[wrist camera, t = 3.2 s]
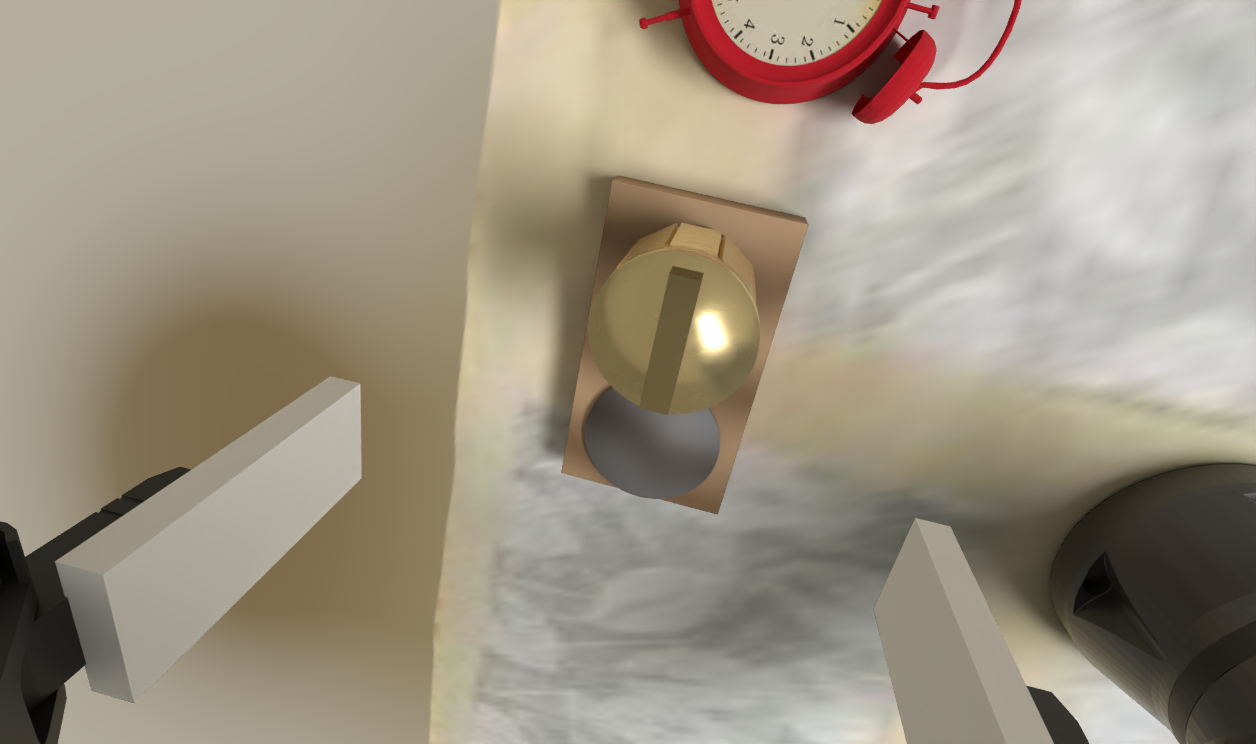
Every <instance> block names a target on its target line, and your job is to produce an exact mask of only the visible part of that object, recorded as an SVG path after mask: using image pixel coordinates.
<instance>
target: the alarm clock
mask: <svg viewBox="0 0 1256 744" xmlns="http://www.w3.org/2000/svg"><path fill="white" fill-rule="evenodd" d="M679 3H680V9H679V10H676V11H672V12H669V13H666V14H665V15H661V16H658V17H655V18H651V19H648V20H647V19H646V18H645V17H644V18H641V19H640V20H639V22H640V27H641V28H642V29H646V28H647V26H648V25H650V24H653V23H657V22H661V21H665V20H668V21H669V20H673V19H676V18H680V17H682V20H683V24H684V27H685V30H686V33H687V36H688V38H689V41H690V43H691V45H692V47H693V49H694V51H695V52H696V54H697V56H698V57H699V59H700V60H701V62H702V63H703V64H704V66H705V67H706V68H707V69H708V70H709V72H710V73H711V74H712V75H713V76H714V77H715V78H716V79H717V80H719V81H720V82H721V83H722V84H724V85H725V86H726V87H728V88H729V89H731V90H733V91H734V92H736V93H738V94H740V95H742V96H744V97H747V98H750V99H753V100H756V101H760V102H765V103H773V104H793V103H800V102H806V101H810V100H814V99H817V98H820V97H823V96H825V95H828V94H830V93H832V92H834V91H836V90H838V89H840V88H841V87H843V86H845V85H846V84H848V83H849V82H851V81H852V80H854V79H855V78H856V77H858V76H859V75H860V74H861V73H863V72H864V71H865V70H866V69H867V68H868V67H869V66H870V65H871V64H872V63H873V62H874V61H875V60H876V59H877V57H878V56H879V55H880V54H881V53H882V52H883V51H884V49H885V48H886V46H887V45H888V44H889V42H890V41H891V40H892V38H893V37H894V35H895V34H896V33H897V34H898V35H899V36H901V37H902V38H903V39H904V40H905V41H906V43H905V44H904V45H903V46H902V47H901V48H900V49H899V50H898V51H897V52H896V54H895V55H894V56H893V58H895V59H896V60H898V61H899V63H900V65H901V67H900V68H899V69H898V71H897V72H896V73H895V74H894V75H893V77H892V78H891V79H890V80H889V81H888V83H887V84H886V85H885V86H884V87H883V88H882V90H881V91H880V92H879V93H878V94H877V95H876V96H875V97H874V98H873V99H870V98H867V97H865V96H864V95H862V96H861V97H860V99H859V101H858V102H857V104H856V105H855V107H854V109H853V111H852V115H853V116H854V117H856V118H857V119H858V120H859V121H861V122H863V123H867V124H874V123H877V122H880V121H883V120H884V119H886V118H887V117H889V116H891V115H892V114H893V113H894V112H895V111H896V110H897V109H899V108H900V107H901V106H902V105H903V104H904V103H905V102H906V101H907V100H908V98H910V99H911V100H913V101H914V102H915V103H917V104H919V103H920V102H921V101H922V98H921V97H920V96H919V95H918V94H916V92H917V91H918V90H920V89H921V88H931V89H950V88H957V87H960V86H964V85H967V84H968V83H970V82H972V81H973V80H975V79H977V78H978V77H980V76H981V75H982V74H983V73H984V72H985V71H986V70H987V69H988V68H989V67H990V66H991V64H992V63H993V61H994V60H995V59H996V57H997V56H998V54H999V53H1000V51H1001V50H1002V48H1003V46H1004V44H1005V42H1006V40H1007V38H1008V37H1009V35H1010V33H1011V31H1012V28H1013V26H1014V23H1015V20H1016V17H1017V15H1018V12H1019V9H1020V5H1021V0H1015V2H1014V7H1013V10H1012V13H1011V15H1010V18H1009V21H1008V24H1007V26H1006V29H1005V31H1004V33H1003V35H1002V37H1001V39H1000V41H999V43H998V44H997V46H996V48H995V49H994V51H993V53H992V54H991V56H990V57H989V59H988V60H987V61H986V62H985V63H984V65H983V66H982V67H981V68H980V69H979V70H978V71H977V72H975V73H974V74H972V75H971V76H969V77H968V78H966V79H963V80H960V81H956V82H950V83H932V82H923V83H921V82H922V81H923V79H924V78H925V77H926V75H927V74H928V72H929V71H930V69H931V67H932V65H933V62H934V60H935V55H936V46H935V42H934V40H933V39H932V38H931V36H930V35H929V34H928V33H927V32H926V31H925V30H920V31H919V32H917V33H916V34H915V35H913V36H912V37H911V38H910V39H909V40H908V39H906V38H905V37H904V36H903V35H902V34H901V33H899V32H898V31H897V30H898V28H899V26H900V24H901V22H902V20H903V18H904V16H905V14H906V11H907V9H908V8H909V9H913V10H916V11H920V12H924V13H927V14H929V15H928V18H930V19H935V18H936V15H937V13H938V10H939V8H940V7H939V6H936V5H932V8H927V7H924V6H920V5H916V4H913V3H910V0H679Z"/></svg>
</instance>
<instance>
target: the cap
mask: <svg viewBox="0 0 1256 744" xmlns="http://www.w3.org/2000/svg"><path fill="white" fill-rule="evenodd" d="M721 235H722V232H721V231H717V230H713V229H708V228H704V227H700V226H695V225H691V224H687V223H681V225H680V227H678V225H677V223H675V224H673V225H671V226H668V227H666V228H664V229H662V230H659V231H657V232H655V233H652V234H650V235H648V236H645V237H643V238H641V239H639V241H638V242H636V243H635V244H634V246H633V247H632V248H631V249H630V251H629V252H628V253H627V255H626V256H625V257H624V258H623V260H622V261H621V262H620V264H619V265H618V266H617V267H616V269H615V271H614V272H613V273H612V274H611V275H610V277H609V278H608V279H607V281H606V282H605V283H604V284H603V286H602V287H601V289H600V290H599V292H598V294H597V296H596V297H595V300H594V302H593V305H592V308H591V312H590V316H589V324H588V338H589V344H590V349H591V352H592V355H593V358H594V361H595V363H596V365H597V367H598V369H599V371H600V372H601V374H602V375H603V377H604V378H605V379H606V381H607V382H608V383H609V384H610V385H611V386H612V387H613V388H614V389H615V390H616V391H617V392H618V393H619V394H621V395H622V396H623V397H624V398H626V399H628V400H629V401H631V402H633V403H634V404H636V405H639V408H640V409H644V410H648V411H652V412H656V413H660V414H664V415H668V414H687V413H693V412H698V411H702V410H705V409H708V408H710V407H713V406H715V405H717V404H719V403H720V402H722V401H724V400H726V399H727V398H728V397H729V396H731V395H732V394H733V393H734V392H735V391H736V390H737V389H738V388H739V387H740V386H741V385H742V384H743V383H744V381H745V380H746V379H747V377H748V376H749V374H750V372H751V370H752V368H753V366H754V364H755V361H756V358H757V354H758V350H759V343H760V327H759V315H758V310H757V306H756V290H755V270H753V265H752V264H751V263H750V261H749V260H748V259H747V258H746V257H745V256H744V254H743V253H742V252H741V251H740V250H739V248H738V247H737V246H736V245H735V244H734V243H733V241H732V240H731V239H730V238H729V237H728V236H727V234H726V235H725V236H724V237H723V238H721Z"/></svg>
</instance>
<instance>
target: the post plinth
mask: <svg viewBox="0 0 1256 744" xmlns="http://www.w3.org/2000/svg"><path fill="white" fill-rule="evenodd" d="M675 223H677V225H678V227H680V225H681V223H687V224H691V225H695V226H700V227H704V228H708V229H713V230H717V231H721V232H722V235H721V238H723V237H724V236H725V235H726V234H727V236H728V237H729V238H730V239H731V240H732V241H733V243H734V244H735V245H736V246H737V247H738V248H739V250H740V251H741V252H742V253H743V254H744V256H745V257H746V258H747V259H748V260H749V261H750V263H751V264H752V265H753V270H755V290H756V306H757V310H758V315H759V327H760V343H759V350H758V354H757V358H756V361H755V364H754V366H753V368H752V370H751V372H750V374H749V376H748V377H747V379H746V380H745V381H744V383H743V384H742V385H741V386H740V387H739V388H738V389H737V390H736V391H735V392H734V393H733V394H732V395H731V396H729V397H728V398H727V399H726V400H724V401H722V402H720V403H719V404H717V405H715V406H713V407H710V408H708V409H705V410H702V411H698V412H693V413H687V414H668V415H664V414H660V413H656V412H652V411H648V410H644V409H640V408H639V405H636V404H634V403H633V402H631V401H629V400H628V399H626V398H624V397H623V396H622V395H621V394H619V393H618V392H617V391H616V390H615V389H614V388H613V387H612V386H611V385H610V384H609V383H608V382H607V381H606V379H605V378H604V377H603V375H602V374H601V372H600V371H599V369H598V367H597V365H596V363H595V361H594V358H593V355H592V352H591V349H590V344H589V338H588V324H589V316H590V312H591V308H592V305H593V302H594V300H595V297H596V296H597V294H598V292H599V290H600V289H601V287H602V286H603V284H604V283H605V282H606V281H607V279H608V278H609V277H610V275H611V274H612V273H613V272H614V271H615V269H616V267H617V266H618V265H619V264H620V262H621V261H622V260H623V258H624V257H625V256H626V255H627V253H628V252H629V251H630V249H631V248H632V247H633V246H634V244H635V243H636V242H638V241H639V239H641V238H643V237H645V236H648V235H650V234H652V233H655V232H657V231H659V230H662V229H664V228H666V227H668V226H671V225H673V224H675ZM807 228H808V223H807V221H806V218H804V217H799V216H795V215H791V214H786V213H782V212H777V211H773V210H768V209H764V208H759V207H755V206H751V205H746V204H742V203H737V202H733V201H728V200H724V199H720V198H715V197H711V196H706V195H702V194H697V193H693V192H689V191H684V190H680V189H675V188H671V187H666V186H662V185H657V184H653V183H649V182H644V181H640V180H635V179H631V178H626V177H622V176H619V177H617V178H615V179H614V180H612V185H611V190H610V196H609V202H608V208H607V213H606V219H605V225H604V231H603V236H602V242H601V248H600V253H599V259H598V265H597V271H596V276H595V282H594V288H593V294H592V299H591V305H590V311H589V316H588V322H587V328H586V334H585V339H584V345H583V351H582V356H581V362H580V368H579V374H578V379H577V385H576V391H575V397H574V402H573V408H572V414H571V419H570V425H569V431H568V437H567V442H566V448H565V454H564V460H563V465H562V471H561V473H564V474H568V475H571V476H575V477H579V478H583V479H586V480H590V481H594V482H598V483H601V484H605V485H609V486H613V487H616V488H619V489H621V490H623V491H625V492H627V493H630V494H633V495H636V496H639V497H644V498H652V499H661V500H665V501H669V502H673V503H677V504H680V505H684V506H688V507H692V508H695V509H699V510H703V511H707V512H710V513H714V514H718V512H719V508H720V505H721V502H722V499H723V496H724V493H725V489H726V486H727V483H728V480H729V477H730V473H731V470H732V467H733V464H734V461H735V457H736V454H737V451H738V448H739V445H740V442H741V438H742V435H743V432H744V429H745V426H746V422H747V419H748V416H749V413H750V410H751V406H752V403H753V400H754V397H755V394H756V391H757V387H758V384H759V381H760V378H761V375H762V371H763V368H764V365H765V362H766V359H767V356H768V352H769V349H770V346H771V343H772V340H773V336H774V333H775V330H776V327H777V324H778V320H779V317H780V314H781V311H782V308H783V305H784V301H785V298H786V295H787V292H788V289H789V285H790V282H791V279H792V276H793V273H794V269H795V266H796V263H797V260H798V257H799V254H800V250H801V247H802V244H803V241H804V238H805V234H806V231H807Z"/></svg>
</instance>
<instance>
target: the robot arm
mask: <svg viewBox="0 0 1256 744" xmlns="http://www.w3.org/2000/svg"><path fill="white" fill-rule="evenodd" d="M360 396H361V393H360V383H356V382H352V381H348V380H344V379H339V378H336V377H331V376H330V377H329V378H327V379H326V380H324V381H323V382H321V383H320V384H318V385H317V386H315V387H314V388H312V389H311V390H309V391H308V392H306V393H305V394H303V395H302V396H300V397H299V398H298V399H296V400H294V401H293V402H292V403H290V404H289V405H287V406H286V407H284V408H283V409H281V410H280V411H278V412H277V413H275V414H274V415H272V416H271V417H269V418H268V419H266V420H265V421H263V422H262V423H260V424H259V425H257V426H256V427H254V428H253V429H251V430H250V431H249V432H247V433H245V434H244V435H242V436H241V437H240V438H238V439H237V440H235V441H234V442H232V443H231V444H229V445H228V446H226V447H225V448H223V449H222V450H220V451H219V452H217V453H216V454H214V455H213V456H211V457H210V458H208V459H207V460H205V461H204V462H202V463H201V464H199V465H198V466H196V467H195V468H194V469H192V470H190V469H186V468H183V467H178V468H175V469H172V470H170V471H167V472H164V473H162V474H159V475H156V476H154V477H151V478H148V479H147V480H145V481H143V482H142V483H140V484H139V485H137V486H136V487H134V488H133V489H131V490H129V491H128V492H126V493H125V494H123V495H122V498H121V499H118V498H117V499H115V500H114V501H112V502H111V503H109V504H108V505H106V506H104V507H103V508H101V511H100V512H99V513H97V512H95V513H93V514H92V515H90V516H89V517H87V518H85V519H84V520H82V521H81V522H79V523H78V524H76V525H75V526H73V527H71V528H70V529H68V530H67V531H65V532H64V533H62V534H61V535H59V536H57V537H56V538H54V539H53V540H51V541H49V542H48V543H46V544H45V545H43V546H42V547H40V548H38V549H37V550H35V551H34V552H32V553H31V554H29V555H28V556H26V557H25V556H24V553H23V549H22V546H21V543H20V540H19V536H18V533H17V530H16V529H15V528H13V527H12V526H11V525H9V524H8V523H5V522H0V744H58V739H59V734H60V729H61V724H62V719H63V714H64V708H65V704H66V699H67V698H66V691H65V690H66V689H65V685H64V683H65V682H66V681H67V680H68V679H70V677H72V676H73V675H74V674H75V673H76V672H78V671H79V670H80V669H81V668H82V667H83V666H85V669H86V673H87V676H88V680H89V683H90V686H91V690H92V691H94V692H98V693H101V694H105V695H108V696H111V697H114V698H118V699H121V700H124V701H128V702H131V703H135V702H136V701H137V700H138V699H139V698H140V697H141V696H142V695H143V694H144V693H145V692H146V691H147V690H148V689H149V688H150V687H151V686H152V685H153V684H154V683H155V682H156V681H157V680H158V679H159V678H160V677H161V676H162V675H163V674H164V673H165V672H166V671H167V670H168V669H169V668H170V667H171V666H172V665H174V663H176V661H177V660H178V659H179V658H181V657H182V656H183V654H185V652H187V650H189V648H191V647H192V646H193V645H194V644H195V643H196V642H197V640H199V639H200V638H201V637H202V636H203V635H204V634H205V633H206V632H207V631H208V630H209V629H210V628H211V627H212V626H213V625H214V624H215V623H216V622H217V621H218V620H219V619H220V618H221V617H222V616H223V615H224V614H225V613H226V612H227V611H228V610H229V609H230V608H231V607H232V606H233V605H234V604H235V603H236V602H237V601H238V600H239V599H240V598H241V597H242V596H243V595H244V594H245V593H246V592H247V591H248V590H249V589H250V588H251V587H252V586H253V585H254V584H255V583H256V582H257V581H258V580H259V579H260V578H261V577H262V576H263V575H264V574H265V573H266V572H267V571H268V570H269V569H270V568H271V567H272V566H273V565H274V564H275V563H276V562H277V561H278V560H279V559H280V558H281V557H282V556H283V555H284V554H285V553H286V552H287V551H288V550H289V549H290V548H291V547H292V546H294V545H295V544H296V543H297V542H298V540H299V539H300V538H302V536H304V534H306V533H307V532H308V531H309V530H310V529H311V528H312V527H313V526H314V525H315V524H316V523H317V522H318V521H319V520H320V519H321V518H322V517H323V516H324V515H325V514H326V513H327V512H328V511H329V510H330V509H331V508H332V507H333V506H334V505H335V504H336V503H337V502H338V501H339V500H340V499H341V498H342V497H343V496H344V495H345V494H346V493H347V492H348V491H349V490H350V489H351V488H352V487H353V486H354V485H355V484H356V483H357V482H358V481H359V480H360V479H361V478H362V477H361V397H360ZM1050 587H1051V596H1052V601H1053V605H1054V608H1055V610H1056V613H1057V615H1058V617H1059V618H1060V620H1061V622H1062V624H1063V625H1064V627H1065V629H1066V630H1067V632H1068V634H1069V635H1070V637H1071V638H1072V640H1073V642H1074V643H1075V645H1076V646H1077V648H1078V649H1079V650H1080V652H1081V653H1082V654H1083V655H1084V656H1085V657H1086V659H1087V660H1088V661H1089V662H1090V663H1091V664H1092V665H1093V666H1094V667H1096V668H1097V669H1098V670H1099V671H1100V672H1101V673H1103V674H1104V675H1105V676H1106V677H1107V678H1109V679H1110V680H1111V681H1112V682H1113V683H1114V684H1116V685H1117V686H1118V687H1119V688H1120V689H1122V690H1123V691H1124V692H1125V693H1126V694H1128V695H1129V696H1130V697H1131V698H1132V699H1133V700H1135V701H1136V702H1137V703H1138V704H1139V705H1141V706H1142V707H1143V708H1144V709H1145V710H1147V711H1148V712H1149V713H1150V714H1151V715H1152V716H1154V717H1155V718H1156V719H1157V720H1158V721H1160V722H1161V723H1162V724H1163V725H1164V726H1166V727H1167V728H1168V729H1169V730H1170V731H1171V732H1172V733H1173V735H1174V736H1175V738H1176V739H1177V741H1178V742H1179V743H1180V744H1256V466H1253V465H1239V464H1219V465H1206V466H1198V467H1191V468H1186V469H1181V470H1177V471H1172V472H1168V473H1165V474H1162V475H1158V476H1155V477H1152V478H1150V479H1147V480H1144V481H1142V482H1139V483H1137V484H1135V485H1132V486H1130V487H1128V488H1126V489H1124V490H1122V491H1121V492H1119V493H1117V494H1115V495H1113V496H1112V497H1110V498H1109V499H1107V500H1105V501H1104V502H1103V503H1101V504H1100V505H1098V506H1097V507H1096V508H1095V509H1093V510H1092V511H1091V512H1090V513H1088V514H1087V515H1086V516H1085V517H1084V518H1083V519H1082V520H1081V521H1080V522H1079V523H1078V524H1077V525H1076V526H1075V527H1074V529H1073V530H1072V531H1071V532H1070V534H1069V535H1068V536H1067V538H1066V539H1065V541H1064V542H1063V544H1062V546H1061V548H1060V549H1059V552H1058V554H1057V556H1056V559H1055V561H1054V564H1053V568H1052V573H1051V584H1050ZM874 613H875V617H876V621H877V625H878V629H879V633H880V637H881V641H882V645H883V649H884V653H885V657H886V661H887V665H888V669H889V673H890V677H891V681H892V685H893V689H894V693H895V697H896V701H897V705H898V709H899V713H900V717H901V721H902V725H903V729H904V734H905V738H906V742H907V744H1089V742H1088V740H1087V738H1086V736H1085V734H1084V733H1083V731H1082V729H1081V727H1080V725H1079V723H1078V722H1077V720H1076V719H1075V718H1074V717H1073V716H1072V715H1071V714H1070V713H1069V711H1068V710H1067V709H1066V708H1065V707H1064V706H1063V705H1062V703H1061V702H1060V701H1059V700H1058V699H1057V698H1056V697H1055V696H1054V694H1053V693H1052V692H1049V691H1045V690H1041V689H1037V688H1033V687H1029V686H1026V684H1025V682H1024V680H1023V678H1022V676H1021V674H1020V671H1019V669H1018V667H1017V665H1016V663H1015V661H1014V659H1013V657H1012V655H1011V653H1010V651H1009V648H1008V646H1007V644H1006V642H1005V640H1004V638H1003V636H1002V634H1001V632H1000V630H999V627H998V625H997V623H996V621H995V619H994V617H993V615H992V613H991V611H990V609H989V606H988V604H987V602H986V600H985V598H984V596H983V594H982V592H981V590H980V588H979V586H978V583H977V581H976V579H975V577H974V575H973V573H972V571H971V569H970V567H969V565H968V562H967V560H966V558H965V556H964V554H963V552H962V550H961V548H960V546H959V544H958V541H957V539H956V537H955V535H954V533H953V531H952V529H951V527H950V526H946V525H942V524H938V523H934V522H930V521H926V520H921V519H917V518H915V520H914V522H913V524H912V526H911V528H910V531H909V533H908V535H907V537H906V539H905V541H904V544H903V546H902V548H901V550H900V552H899V554H898V557H897V559H896V561H895V563H894V565H893V568H892V570H891V572H890V574H889V576H888V578H887V581H886V583H885V585H884V587H883V589H882V591H881V594H880V596H879V598H878V600H877V602H876V605H875V607H874Z"/></svg>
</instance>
